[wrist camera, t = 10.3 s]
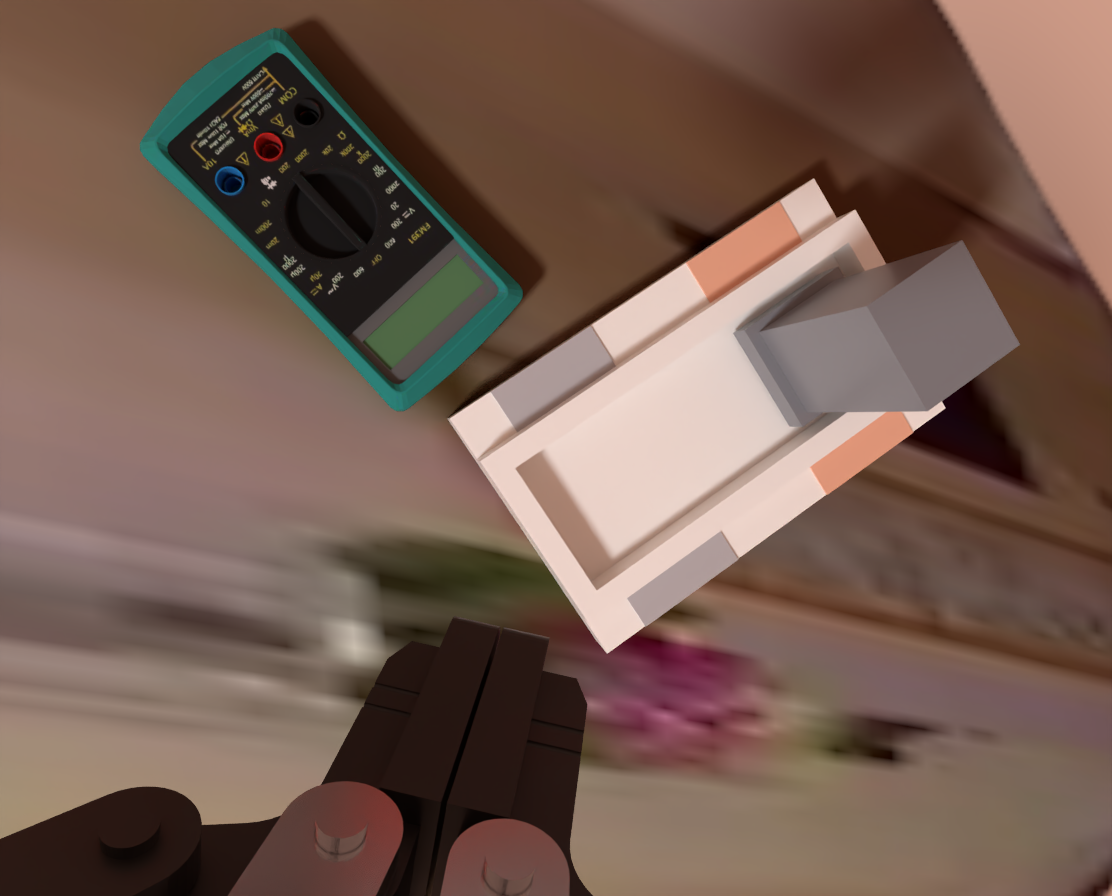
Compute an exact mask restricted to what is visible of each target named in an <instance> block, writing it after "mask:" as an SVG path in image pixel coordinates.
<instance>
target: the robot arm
mask: <svg viewBox="0 0 1112 896" xmlns="http://www.w3.org/2000/svg"><path fill="white" fill-rule="evenodd" d="M499 635H500V627H499V626H495V625H490V624H486V623H482V622H477V621H473V620H468V619H464V618H460V617H455V616H454V617H453V619H452V621H451V623H450V626H449V628H448V630H447V632H446V635H445V637H444V639H443V642H442V644H441V646H440V648H439V647H435V646H431V645H426V644H422V643H418V642H413V641H412V642H410V643H409V644H408V645H406V646H405V647H403V648H402V649H401V650H399V651H398V652H396V653H395V654H394V655H392V656H391V657H389V658H388V659H387V661H386V663H385V665H384V667H383V669H382V671H381V673H380V674H379V676H378V678H377V680H376V682H375V686H374V687H373V688H372V690H371V692H370V693H369V695H368V697H367V699H366V701H365V704H364V707H362V709H361V710H360V712H359V714H358V716H357V718H356V720H355V722H354V724H353V726H352V727H351V729H350V731H349V733H348V735H347V737H346V739H345V741H344V743H343V745H342V746H341V748H340V750H339V752H338V754H337V756H336V758H335V760H334V762H333V763H332V765H331V767H330V769H329V771H328V773H327V775H326V777H325V779H324V781H323V782H322V784H321V785H320V786H316V787H314V788H312V789H310V790H308V791H306V792H304V793H303V794H301V795H300V796H298V797H297V798H296V799H295V800H294V801H293V802H291V803H290V805H289V806H288V807H287V808H286V810H285V811H284V812H283V814H282V815H281V816H278V817H276V818H273V819H269V820H265V821H260V822H252V823H239V824H217V825H202V822H201V817H200V814H199V812H198V810H197V808H196V806H195V805H194V804H193V803H192V801H191V800H189V799H188V798H187V797H185V796H184V795H182V794H180V793H178V792H176V791H173V790H170V789H166V788H160V787H136V788H129V789H125V790H121V791H117V792H114V793H112V794H109V795H106V796H104V797H101V798H99V799H96V800H94V801H91V802H89V803H87V804H84V805H82V806H79V807H77V808H74V809H72V810H70V811H67V812H65V813H62V814H60V815H57V816H55V817H53V818H50V819H48V820H45V821H43V822H40V823H38V824H36V825H33V826H31V827H28V828H26V829H23V830H21V831H19V832H16V833H14V834H11V835H9V836H6V837H4V838H2V839H0V896H593V895H592V894H591V893H590V892H589V891H588V890H587V889H586V888H585V886H584V885H583V883H582V882H581V880H580V879H579V877H578V875H577V873H576V871H575V869H574V866H573V863H572V860H571V854H570V837H571V829H572V821H573V813H574V805H575V797H576V789H577V782H578V774H579V766H580V756H581V750H582V742H583V733H584V727H585V719H586V711H587V702H586V700H585V698H584V695H583V693H582V691H581V688H580V686H579V683H578V681H577V679H576V678H571V677H567V676H563V675H558V674H554V673H550V672H545V671H543V666H544V661H545V657H546V652H547V647H548V643H549V637H544V636H540V635H535V634H531V633H527V632H522V631H518V630H513V629H509V628H505V627H504V628H503V631H502V634H501V637H500V640H499ZM498 641H499V643H498Z"/></svg>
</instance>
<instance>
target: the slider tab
mask: <svg viewBox="0 0 1112 896" xmlns="http://www.w3.org/2000/svg"><path fill="white" fill-rule="evenodd" d="M733 334H734V336H735V337H736V339H737V341H738V342H739V344H740V346H741V347H742V349H743V350H744V352H745V354H746V355H747V357H748V359H749V360H750V362H751V364H752V365H753V367H754V369H755V370H756V372H757V374H758V375H759V377H760V379H761V380H762V382H763V384H764V385H765V387H766V388H767V390H768V392H769V393H770V395H771V397H772V398H773V400H774V402H775V403H776V405H777V407H778V408H779V410H780V412H781V413H782V415H783V417H784V418H785V420H786V422H787V423H788V425H789V426H790V427H804V426H805V425H806V424H808V423H809V422H811V421H812V420H813V419H815V418H816V417H818V416H819V415H820V414H822V413H823V412H920V411H929V410H930V409H932V408H933V407H934V406H936V405H937V404H938V403H940V402H941V401H943V400H944V399H945V398H947V397H948V396H950V395H951V394H952V393H954V392H955V391H956V390H958V389H959V388H961V387H962V386H963V385H965V384H966V383H968V382H969V381H970V380H972V379H973V378H974V377H976V376H977V375H979V374H980V373H981V372H983V371H984V370H985V369H987V368H988V367H990V366H991V365H992V364H994V363H995V362H997V361H998V360H999V359H1001V358H1002V357H1003V356H1005V355H1006V354H1008V353H1009V352H1010V351H1012V350H1013V349H1014V348H1016V347H1017V346H1019V345H1020V344H1019V342H1018V340H1017V339H1016V337H1015V335H1014V333H1013V331H1012V330H1011V328H1010V326H1009V324H1008V322H1007V320H1006V319H1005V317H1004V315H1003V313H1002V311H1001V310H1000V308H999V306H998V304H997V302H996V301H995V299H994V297H993V295H992V293H991V291H990V290H989V288H988V286H987V284H986V282H985V281H984V279H983V277H982V275H981V273H980V271H979V270H978V268H977V266H976V264H975V262H974V261H973V259H972V257H971V255H970V253H969V252H968V250H967V248H966V246H965V244H964V242H963V241H962V240H960V241H957V242H954V243H951V244H948V245H945V246H942V247H938V248H935V249H932V250H929V251H926V252H923V253H920V254H916V255H913V256H910V257H907V258H904V259H901V260H898V261H894V262H891V263H888V264H885V265H882V266H879V267H876V268H872V269H869V270H866V271H863V272H860V273H857V274H854V275H850V276H847V277H844V275H843V273H842V272H841V270H840V268H839V267H835V268H832V269H829V270H826V271H824V272H822V273H821V274H819V275H818V276H816V277H815V278H813V279H812V280H811V281H809V282H808V283H806V284H805V285H803V286H802V287H800V288H799V289H797V290H796V291H794V292H793V293H791V294H790V295H788V296H787V297H786V298H784V299H783V300H781V301H780V302H778V303H777V304H775V305H774V306H772V307H771V308H769V309H768V310H766V311H765V312H763V313H762V314H760V315H759V316H758V317H756V318H755V319H753V320H752V321H750V322H749V323H747V324H746V325H744V326H743V327H741V328H740V329H738V330H737V331H735V332H734V333H733Z"/></svg>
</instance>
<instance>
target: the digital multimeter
mask: <svg viewBox="0 0 1112 896" xmlns="http://www.w3.org/2000/svg"><path fill="white" fill-rule="evenodd" d="M287 57H288V58H289V59H290V60H291V61H290V60H289V59H288V58H287ZM260 63H261V64H260ZM255 67H256V68H255ZM254 68H255V69H254ZM253 69H254V70H253ZM299 70H300V71H301V72H302V73H303V74H302V73H301V72H300V71H299ZM249 72H250V73H249ZM248 73H249V74H248ZM247 74H248V75H247ZM246 75H247V76H246ZM241 79H242V80H241ZM240 80H241V81H240ZM239 81H240V82H239ZM312 84H313V85H314V86H315V87H316V88H315V87H314V86H313V85H312ZM234 85H235V86H234ZM233 86H234V87H233ZM232 87H233V88H232ZM231 88H232V89H231ZM227 91H228V92H227ZM226 92H227V93H226ZM225 93H226V94H225ZM224 94H225V95H224ZM220 97H221V98H220ZM324 97H325V98H326V99H327V100H328V101H327V100H326V99H325V98H324ZM219 98H220V99H219ZM218 99H219V100H218ZM217 100H218V101H217ZM213 103H214V104H213ZM212 104H213V105H212ZM211 105H212V106H211ZM210 106H211V107H210ZM205 110H206V111H205ZM204 111H205V112H204ZM337 111H338V112H339V113H338V112H337ZM203 112H204V113H203ZM198 116H199V117H198ZM197 117H198V118H197ZM196 118H197V119H196ZM195 119H196V120H195ZM191 122H192V123H191ZM190 123H191V124H190ZM189 124H190V125H189ZM188 125H189V126H188ZM183 129H184V130H183ZM182 130H183V131H182ZM181 131H182V132H181ZM140 151H141V152H142V154H143V156H144V157H145V158H146V159H147V160H148V161H149V162H150V163H151V164H152V165H153V166H154V167H155V168H156V169H157V170H158V171H159V172H160V173H161V174H162V175H163V176H164V177H165V178H167V179H168V180H169V181H170V182H171V183H172V184H173V185H174V186H175V187H176V188H177V189H178V190H179V191H181V192H182V193H183V194H184V195H185V196H186V197H187V198H188V199H189V200H190V201H191V202H192V203H193V204H195V205H196V206H197V207H198V208H199V209H200V210H201V211H202V212H203V213H204V214H205V215H206V216H207V217H208V218H210V219H211V220H212V221H213V222H214V223H215V224H216V225H217V226H218V227H219V228H220V229H221V230H222V231H223V232H224V233H225V234H226V235H227V236H228V237H229V238H230V239H231V240H232V241H233V242H234V243H235V244H236V245H237V246H238V247H239V248H240V249H242V250H243V251H244V252H245V253H246V254H247V255H248V256H249V257H250V258H251V259H252V260H253V261H254V262H255V263H256V264H257V265H258V266H259V267H260V268H261V269H262V270H263V271H264V272H265V273H266V274H267V275H268V276H269V277H270V278H271V279H272V280H273V281H274V282H275V283H276V284H277V285H278V286H279V287H280V288H281V289H282V290H283V291H284V292H285V293H286V294H287V295H288V296H289V297H290V299H291V300H292V301H293V302H294V303H295V304H296V305H297V306H298V307H299V308H300V309H301V310H302V311H303V312H304V313H305V314H306V315H307V316H308V317H309V318H310V319H311V320H312V321H313V323H314V324H315V325H316V326H317V327H318V328H319V329H320V330H321V331H322V332H323V333H324V334H325V335H326V336H327V337H328V338H329V340H330V341H331V342H332V343H333V344H334V345H335V346H336V347H337V348H338V349H339V351H340V352H341V353H342V354H343V355H344V356H345V357H346V358H347V359H348V361H349V362H350V363H351V364H352V365H353V366H354V367H355V368H356V369H357V371H358V372H359V373H360V374H361V375H362V376H363V377H364V378H365V379H366V380H367V382H368V383H369V384H370V385H371V386H372V387H373V388H374V389H375V390H376V392H377V393H378V394H379V395H380V396H381V397H382V398H383V399H384V400H385V402H386V403H387V404H388V405H389V406H390V407H391V408H392V409H394V410H396V411H405V410H407V409H408V408H410V407H411V406H412V405H414V404H415V403H416V402H417V401H419V400H420V399H421V398H422V397H424V396H425V395H426V394H427V393H429V392H430V391H431V390H432V389H433V388H435V387H436V386H437V385H438V384H439V383H440V382H442V381H443V380H444V379H445V378H446V377H448V376H449V375H450V374H451V373H452V372H453V371H455V370H456V369H457V368H458V367H459V366H460V365H461V364H462V363H463V362H464V361H465V360H466V359H467V358H468V357H469V356H470V355H471V354H472V353H473V352H475V351H476V349H477V348H478V347H479V346H480V345H481V344H482V343H483V342H484V341H485V340H486V339H487V338H488V337H489V336H490V335H491V334H492V333H493V332H494V330H495V329H496V328H497V327H498V326H499V325H500V324H501V323H502V322H503V321H504V320H505V318H506V317H507V316H508V315H509V314H510V313H511V312H512V311H513V309H514V308H515V307H516V306H517V305H518V304H519V303H520V301H521V299H522V298H523V290H522V289H521V287H520V285H519V284H518V283H517V282H516V281H515V280H514V279H513V278H512V277H511V276H510V275H509V274H508V273H507V272H506V271H505V270H504V269H503V268H502V267H501V266H500V265H499V264H498V263H497V262H496V261H495V260H494V259H493V258H492V257H491V256H490V255H489V254H488V253H487V252H486V251H485V250H484V249H483V248H482V247H481V246H480V245H479V244H478V243H477V242H476V241H475V240H474V239H473V238H472V237H471V236H470V235H469V234H468V233H467V232H466V231H465V230H464V229H463V228H462V227H460V226H459V225H458V224H457V223H456V222H455V221H454V220H453V219H452V218H451V217H450V216H449V215H448V213H447V212H446V211H445V210H444V209H443V208H442V207H441V206H440V205H439V204H438V203H437V202H436V201H435V200H434V199H433V198H432V197H431V196H430V194H429V193H428V192H427V191H426V190H425V189H424V188H423V187H422V186H421V185H420V184H419V183H418V182H417V181H416V180H415V179H414V178H413V177H412V175H411V174H410V173H409V172H408V171H407V170H406V169H405V168H404V167H403V166H402V165H401V164H400V163H399V162H398V161H397V160H396V159H395V158H394V156H393V155H392V154H391V153H390V152H389V151H388V150H387V149H386V147H385V146H384V145H383V144H382V143H381V142H380V141H379V140H378V138H377V137H376V136H375V135H374V134H373V133H372V132H371V130H370V129H369V128H368V127H367V126H366V125H365V124H364V122H363V121H362V120H361V119H360V118H359V117H358V116H357V114H356V113H355V112H354V111H353V110H352V109H351V108H350V106H349V105H348V104H347V103H346V102H345V101H344V100H343V98H342V97H341V96H340V95H339V94H338V93H337V92H336V90H335V89H334V88H333V87H332V86H331V85H330V83H329V82H328V81H327V80H326V79H325V77H324V76H323V75H322V74H321V73H320V71H319V70H318V69H317V68H316V67H315V65H314V64H313V63H312V62H311V61H310V59H309V58H308V57H307V56H306V55H305V54H304V52H303V51H302V50H301V49H300V48H299V46H298V45H297V44H296V43H295V42H294V40H293V39H292V38H291V37H290V36H289V34H288V33H287V32H285V31H284V30H282V29H278V28H273V29H271V30H268V31H266V32H264V33H262V34H260V35H258V36H256V37H254V38H252V39H249V40H247V41H245V42H243V43H241V44H239V45H237V46H235V47H234V48H232V49H230V50H229V51H227V52H225V53H224V54H222V55H220V56H219V57H217V58H215V59H214V60H212V61H210V62H209V63H207V64H206V65H205V66H204V67H203V68H202V69H200V70H199V71H198V72H197V73H196V74H195V75H193V76H192V77H191V78H190V79H189V80H188V81H186V82H185V83H184V84H183V85H182V86H181V88H180V89H179V90H178V91H177V93H176V94H175V95H174V96H173V97H172V99H171V100H170V101H169V102H168V103H167V105H166V106H165V107H164V108H163V110H162V111H161V112H160V114H159V115H158V117H157V118H156V120H155V121H154V123H153V124H152V126H151V127H150V129H149V130H148V131H147V133H146V134H145V136H144V137H143V139H142V140H141V142H140ZM358 173H359V174H358ZM198 185H199V186H200V187H201V188H202V189H203V190H204V191H205V192H206V193H205V192H204V191H203V190H202V189H201V188H200V187H199V186H198ZM374 190H375V191H374ZM380 205H381V206H380ZM281 221H282V222H281ZM493 298H494V299H493Z"/></svg>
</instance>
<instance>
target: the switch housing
mask: <svg viewBox="0 0 1112 896" xmlns="http://www.w3.org/2000/svg"><path fill="white" fill-rule="evenodd" d="M885 264H886V263H885V261H884V259H883V257H882V256H881V254H880V252H879V250H878V249H877V247H876V245H875V243H874V242H873V240H872V238H871V236H870V235H869V233H868V231H867V229H866V227H865V226H864V224H863V222H862V220H861V219H860V217H859V215H858V213H857V212H856V210H853V211H851V212H849V213H846V214H844V215H842V216H840V217H838V218H836V216H835V214H834V212H833V211H832V209H831V207H830V205H829V204H828V202H827V200H826V198H825V197H824V195H823V193H822V192H821V190H820V188H819V186H818V185H817V183H816V181H815V179H812V180H810V181H808V182H807V183H805V184H803V185H802V186H800V187H798V188H797V189H795V190H793V191H792V192H790V193H789V194H787V195H785V196H784V197H782V198H781V199H779V200H778V201H776V202H775V203H773V204H772V205H770V206H769V207H767V208H766V209H764V210H763V211H761V212H760V213H758V214H757V215H755V216H754V217H752V218H751V219H749V220H748V221H746V222H745V223H743V224H741V225H740V226H738V227H737V228H735V229H734V230H732V231H731V232H729V233H728V234H726V235H725V236H723V237H722V238H720V239H719V240H717V241H716V242H714V243H713V244H711V245H710V246H708V247H707V248H705V249H704V250H702V251H701V252H699V253H697V254H696V255H694V256H693V257H691V258H690V259H688V260H687V261H685V262H684V263H682V264H681V265H679V266H678V267H676V268H675V269H673V270H672V271H670V272H669V273H667V274H666V275H664V276H663V277H661V278H660V279H658V280H657V281H655V282H653V283H652V284H650V285H649V286H647V287H646V288H644V289H643V290H641V291H640V292H638V293H637V294H635V295H634V296H632V297H631V298H629V299H628V300H626V301H625V302H623V303H622V304H620V305H619V306H617V307H616V308H614V309H613V310H611V311H609V312H608V313H606V314H605V315H603V316H602V317H600V318H599V319H597V320H596V321H594V322H593V323H591V324H590V325H588V326H587V327H585V328H584V329H582V330H581V331H579V332H578V333H576V334H575V335H573V336H572V337H570V338H569V339H567V340H566V341H564V342H562V343H561V344H559V345H558V346H556V347H555V348H553V349H552V350H550V351H549V352H547V353H546V354H544V355H543V356H541V357H540V358H538V359H537V360H535V361H534V362H532V363H531V364H529V365H528V366H526V367H525V368H523V369H522V370H520V371H518V372H517V373H515V374H514V375H512V376H511V377H509V378H508V379H506V380H505V381H503V382H502V383H500V384H499V385H497V386H496V387H494V388H493V389H491V390H490V391H488V392H487V393H485V394H484V395H482V396H481V397H479V398H478V399H476V400H474V401H473V402H471V403H470V404H468V405H467V406H465V407H464V408H462V409H461V410H459V411H458V412H456V413H455V414H453V415H452V416H450V417H449V418H447V419H448V420H449V422H450V423H451V425H452V426H453V428H454V429H455V431H456V432H457V434H458V435H459V437H460V438H461V440H462V441H463V443H464V444H465V446H466V447H467V449H468V450H469V452H470V453H471V455H472V456H473V458H474V459H475V461H476V462H477V464H478V465H479V467H480V468H481V469H482V471H483V472H484V474H485V475H486V477H487V478H488V480H489V481H490V483H491V484H492V486H493V487H494V489H495V490H496V492H497V493H498V495H499V496H500V498H501V499H502V501H503V502H504V504H505V505H506V507H507V508H508V510H509V511H510V513H511V514H512V516H513V517H514V519H515V520H516V522H517V523H518V525H519V526H520V528H521V529H522V531H523V532H524V534H525V535H526V537H527V538H528V539H529V541H530V542H531V544H532V545H533V547H534V548H535V550H536V551H537V553H538V554H539V556H540V557H541V559H542V560H543V562H544V563H545V565H546V566H547V568H548V569H549V571H550V572H551V574H552V575H553V577H554V578H555V580H556V581H557V583H558V584H559V586H560V587H561V589H562V590H563V592H564V593H565V595H566V596H567V598H568V599H569V601H570V602H571V604H572V605H573V607H574V608H575V609H576V611H577V612H578V614H579V615H580V617H581V618H582V620H583V621H584V623H585V624H586V626H587V627H588V629H589V630H590V632H591V633H592V635H593V636H594V638H595V639H596V641H597V642H598V643H599V644H600V646H601V647H602V648H603V649H604V650H605V652H606V653H609V652H610V651H611V650H613V649H614V648H616V647H617V646H618V645H620V644H621V643H622V642H624V641H625V640H627V639H628V638H629V637H631V636H632V635H633V634H635V633H636V632H638V631H639V630H640V629H642V628H643V627H644V626H647V625H649V624H650V623H652V622H653V621H654V620H656V619H657V618H658V617H660V616H661V615H663V614H664V613H665V612H667V611H668V610H669V609H671V608H672V607H674V606H675V605H676V604H678V603H679V602H680V601H682V600H683V599H685V598H686V597H687V596H689V595H690V594H691V593H693V592H694V591H696V590H697V589H698V588H700V587H701V586H702V585H704V584H705V583H707V582H708V581H709V580H711V579H712V578H713V577H715V576H716V575H718V574H719V573H720V572H722V571H723V570H725V569H726V568H727V567H729V566H730V565H731V564H733V563H734V562H736V561H737V560H738V558H740V557H741V556H742V555H744V554H745V553H746V552H748V551H749V550H751V549H752V548H753V547H755V546H756V545H757V544H759V543H760V542H762V541H763V540H764V539H766V538H767V537H769V536H770V535H771V534H773V533H774V532H775V531H777V530H778V529H780V528H781V527H782V526H784V525H785V524H786V523H788V522H789V521H791V520H792V519H793V518H795V517H796V516H797V515H799V514H800V513H802V512H803V511H804V510H806V509H807V508H808V507H810V506H811V505H813V504H814V503H815V502H817V501H818V500H819V499H821V498H822V497H824V496H825V495H828V494H829V493H831V492H832V491H833V490H835V489H836V488H837V487H839V486H840V485H842V484H843V483H844V482H846V481H847V480H848V479H850V478H851V477H853V476H854V475H855V474H857V473H858V472H860V471H861V470H862V469H864V468H865V467H866V466H868V465H869V464H871V463H872V462H873V461H875V460H876V459H877V458H879V457H880V456H882V455H883V454H884V453H886V452H887V451H888V450H890V449H891V448H893V447H894V446H895V445H897V444H898V443H899V442H901V441H902V440H904V439H905V438H906V437H908V436H909V435H910V434H912V433H913V431H915V430H916V429H917V428H919V427H920V426H921V425H923V424H924V423H926V422H927V421H928V420H930V419H931V418H932V417H934V416H935V415H937V414H938V413H939V412H941V411H942V410H943V409H945V406H944V405H943V403H942V401H941V402H940V403H938V404H937V405H936V406H934V407H933V408H932V409H930V410H929V411H920V412H823V413H822V414H820V415H819V416H818V417H816V418H815V419H813V420H812V421H811V422H809V423H808V424H806V425H805V426H804V427H790V426H789V425H788V423H787V422H786V420H785V418H784V417H783V415H782V413H781V412H780V410H779V408H778V407H777V405H776V403H775V402H774V400H773V398H772V397H771V395H770V393H769V392H768V390H767V388H766V387H765V385H764V384H763V382H762V380H761V379H760V377H759V375H758V374H757V372H756V370H755V369H754V367H753V365H752V364H751V362H750V360H749V359H748V357H747V355H746V354H745V352H744V350H743V349H742V347H741V346H740V344H739V342H738V341H737V339H736V337H735V336H734V334H733V333H734V332H735V331H737V330H738V329H740V328H741V327H743V326H744V325H746V324H747V323H749V322H750V321H752V320H753V319H755V318H756V317H758V316H759V315H760V314H762V313H763V312H765V311H766V310H768V309H769V308H771V307H772V306H774V305H775V304H777V303H778V302H780V301H781V300H783V299H784V298H786V297H787V296H788V295H790V294H791V293H793V292H794V291H796V290H797V289H799V288H800V287H802V286H803V285H805V284H806V283H808V282H809V281H811V280H812V279H813V278H815V277H816V276H818V275H819V274H821V273H822V272H824V271H826V270H829V269H832V268H835V267H839V268H840V270H841V272H842V273H843V275H844V277H847V276H850V275H854V274H857V273H860V272H863V271H866V270H869V269H872V268H876V267H879V266H882V265H885Z"/></svg>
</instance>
